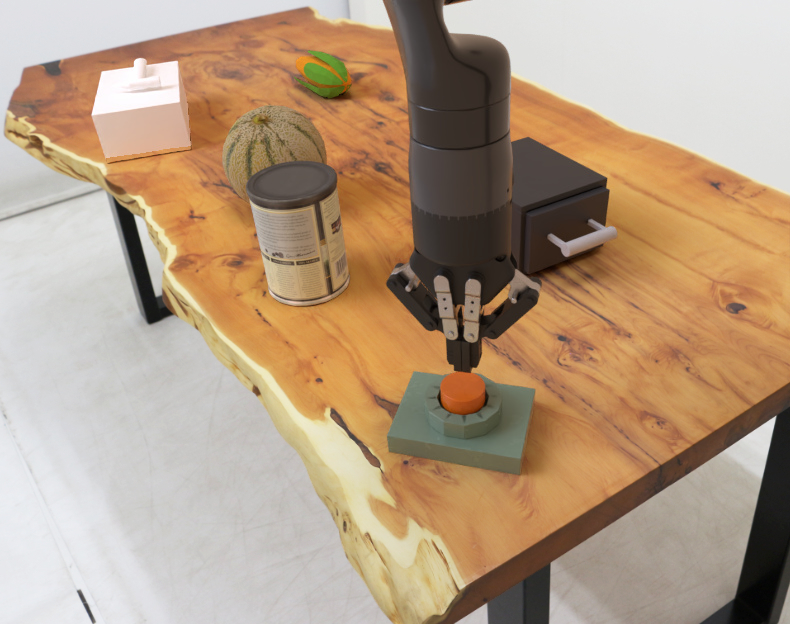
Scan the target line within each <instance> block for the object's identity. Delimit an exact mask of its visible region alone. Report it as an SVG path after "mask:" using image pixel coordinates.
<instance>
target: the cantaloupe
mask: <svg viewBox="0 0 790 624" xmlns="http://www.w3.org/2000/svg"><path fill="white" fill-rule="evenodd" d="M327 155H328V154H327V148H326V144H325V140H324V139H323V136H322V134H321V132H320V131H319V129H317V127H316V125H315V123H313V122H312V121H311V120H310V119H309V118H308V117H306V115H304V114H303V113H302V112H300V111H299V110H297V109H294V108H291V107H288V106H285V105H275V104H273V105H272V104H268V105H262V106H259V107H257V108H254V109H251V110H249V111H247V112H245V113H244V114H242V115H241V116H240V117H239V118H237V119H236V120H235V122H234V123H233V124H232V126H231V127H230V129H229V131H228V133H227V136H226V138H225V141H224V143H223V146H222V155H221V159H222V161H221V164H222V168H223V171H224V174H225V178H226V179H227V181H228V183H229V185H230V186H231V188H232V189H233V190H234V191H235V193H236V194H237V195H238V196H239V198H241V199H242V200H244V201H245V202H246V203H248V204H249V205H251V204H250V200H249V196H248V194H247V191H246V183H247V181H248V180H249V178H250V177H251V176H253V175H254V174H255V173H257V172H259V171H260V170H262V169H265V168H267V167H269V166H272V165H276V164H279V163H284V162H290V161H315V162H320V163H324V164H327V165H328V161H327V160H328V156H327Z"/></svg>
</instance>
